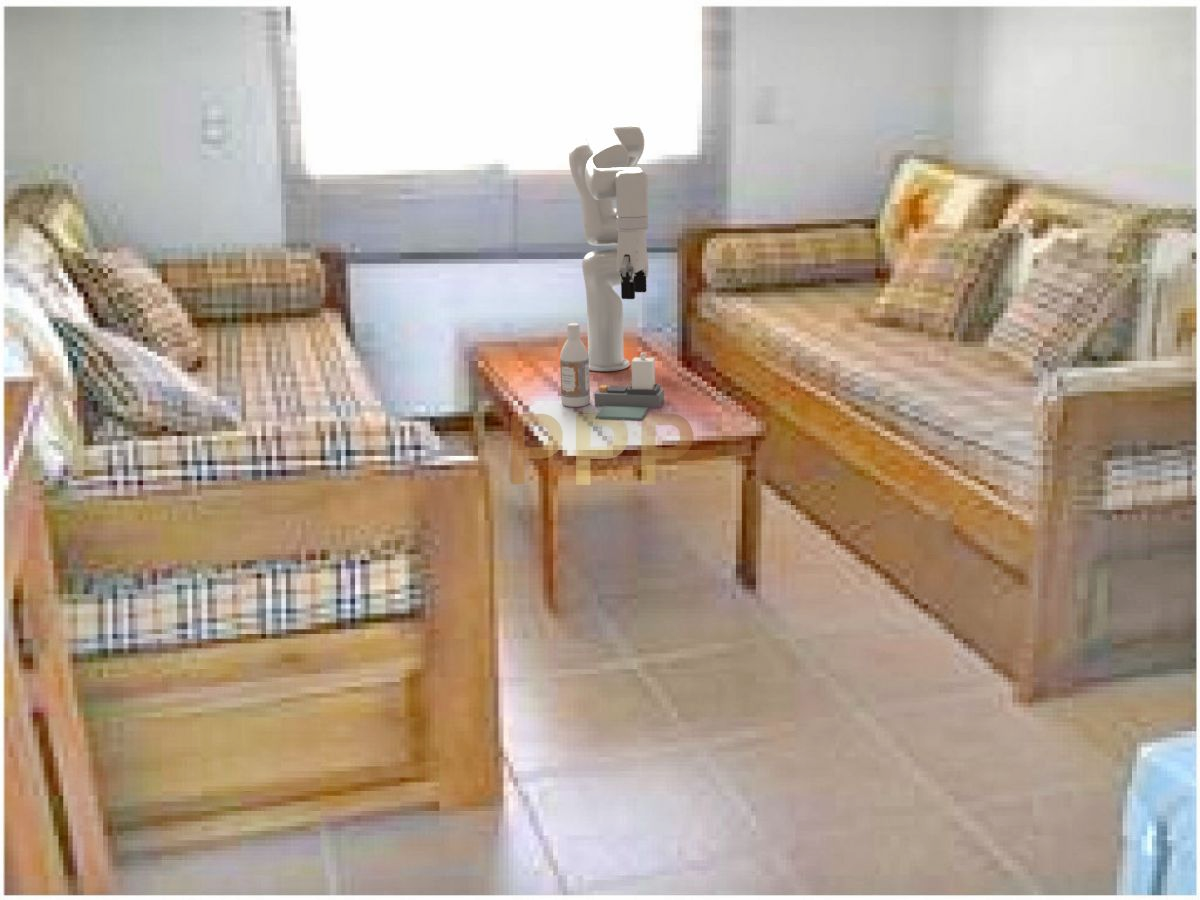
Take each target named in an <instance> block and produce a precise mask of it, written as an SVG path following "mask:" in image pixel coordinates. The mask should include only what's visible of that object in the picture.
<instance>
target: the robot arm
mask: <svg viewBox="0 0 1200 900" xmlns="http://www.w3.org/2000/svg"><path fill="white" fill-rule="evenodd" d="M644 148H645V138H644V133H643V131H642V130H641V128H640V127H639V125H637V124H634V123H609V124H600V125H597V126H594V127H593V128H592V129H590V130H589V132H588V133H587V136H586V141H582V142H578V143H576V144H574V145H573V146H572V147H571V148H570V150H569V152H568V162H569V169H570V173H571V175H572V179H573V181H574V183H575V186H576V188H577V190H578V193H579V197H580V205H581V215H582V225H583V231H584V233H583V234H584V237H585V240H586V243H588V244H589V245H591V246H595V247H596V246H598V247H599V246H601V247H603V246H617V247H616V248H614V249H613V248H610V249H596V250H593V251H589V252H587V254H586V255H584V257H583V259H582V262H581V263H582V273H583V279H584V287H585V295H586V313H587V314H586V318H587V320H586V321H587V322H586V323H587V352H588V356H589V371H592V372H616V371H621V370H625V369H627V368H629V367H630V361H629V359H627V358H625V357H624V354H625V353H624V319H623V318H624V317H623V315H624V314H623V311H624V310H623V301H622V300H634V299H635V298H636V293H646V292H647V279H648V276H649V261H648V260H649V259H648V251H647V235H646V231H648V230H649V205H648V204H649V200H648V199H649V198H648V197H649V196H648V189H649V188H648V187H649V179H648V175H647V173H646V172H645V171H644V169H642V168H641V167H636V166H637V164H638V162H640V159H641V158H642V156H643V153H644ZM614 200H615V206H614ZM615 286H616V287H617V286H620V287H621V288H620V289H621V290H620V291H621V292H620V294H621V296H620V295H619V294H618V293H617V292H616V291H615V290H614V289H613V287H615Z"/></svg>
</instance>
